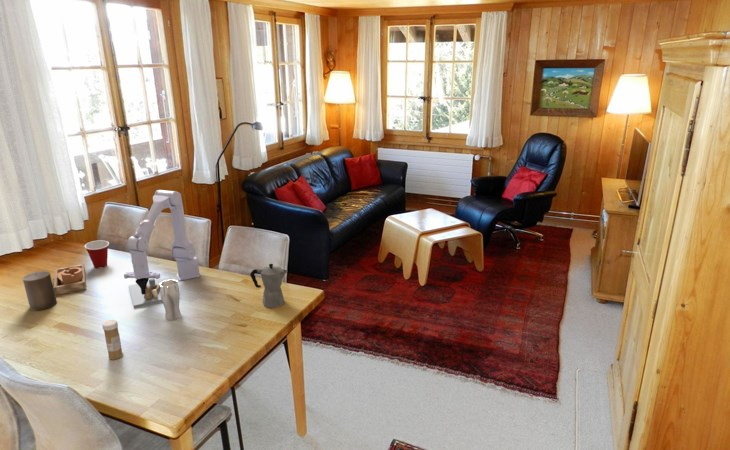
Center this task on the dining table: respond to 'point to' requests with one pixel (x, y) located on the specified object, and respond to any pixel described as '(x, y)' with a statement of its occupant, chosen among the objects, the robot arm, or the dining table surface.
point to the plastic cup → (98, 252)
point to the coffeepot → (271, 285)
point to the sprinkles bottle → (112, 339)
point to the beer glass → (170, 299)
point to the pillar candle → (39, 290)
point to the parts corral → (71, 286)
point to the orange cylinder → (70, 276)
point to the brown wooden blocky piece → (150, 291)
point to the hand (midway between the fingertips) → (144, 293)
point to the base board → (139, 298)
